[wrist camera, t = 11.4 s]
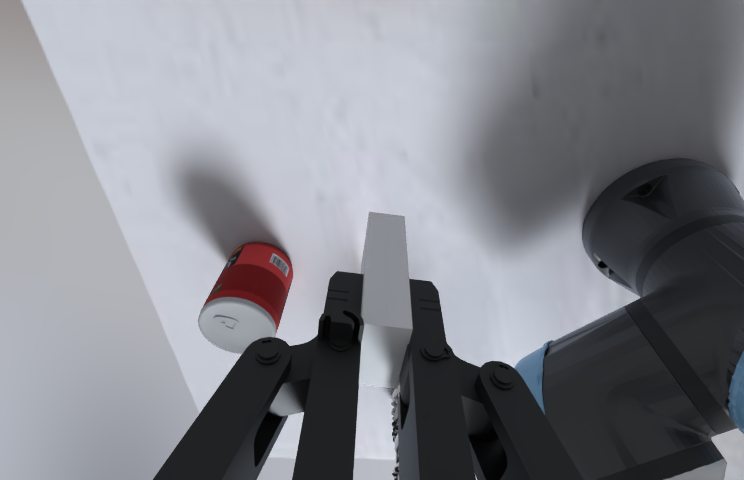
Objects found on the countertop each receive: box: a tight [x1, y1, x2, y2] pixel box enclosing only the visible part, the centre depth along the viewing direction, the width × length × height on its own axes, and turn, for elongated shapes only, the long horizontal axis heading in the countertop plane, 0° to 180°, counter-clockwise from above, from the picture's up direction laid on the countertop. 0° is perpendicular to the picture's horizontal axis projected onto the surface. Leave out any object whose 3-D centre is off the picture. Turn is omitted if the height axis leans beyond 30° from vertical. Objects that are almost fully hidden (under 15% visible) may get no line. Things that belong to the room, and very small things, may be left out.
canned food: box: [198, 242, 293, 354], centre depth 48 cm, size 8×8×11 cm
